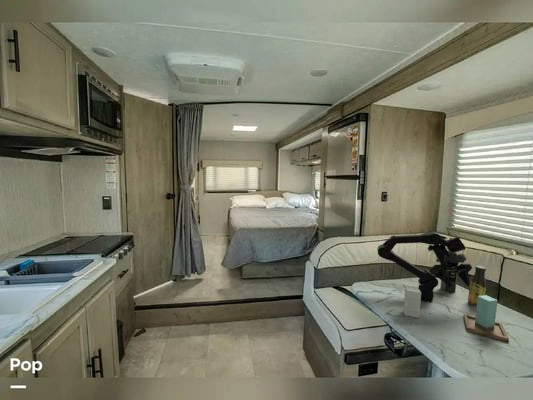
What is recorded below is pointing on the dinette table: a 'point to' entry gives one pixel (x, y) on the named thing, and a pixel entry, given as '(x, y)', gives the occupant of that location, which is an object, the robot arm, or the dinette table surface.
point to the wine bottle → (450, 278)
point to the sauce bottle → (477, 285)
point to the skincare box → (412, 302)
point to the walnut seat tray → (496, 333)
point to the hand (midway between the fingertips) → (460, 286)
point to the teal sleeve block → (486, 312)
